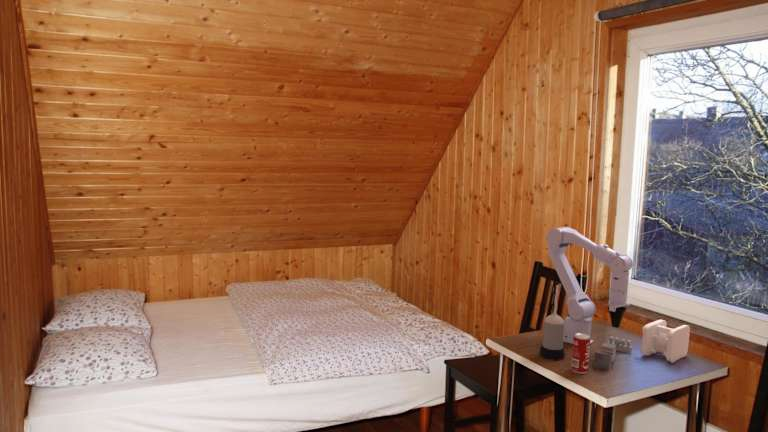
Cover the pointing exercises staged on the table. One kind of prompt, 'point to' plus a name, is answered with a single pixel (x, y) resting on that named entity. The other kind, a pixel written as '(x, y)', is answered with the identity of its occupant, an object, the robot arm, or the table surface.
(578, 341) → the soda can
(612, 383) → the table surface
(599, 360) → the block
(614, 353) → the grey slotted cube
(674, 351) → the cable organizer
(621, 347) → the cable comb
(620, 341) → the dark grey rod
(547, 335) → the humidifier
